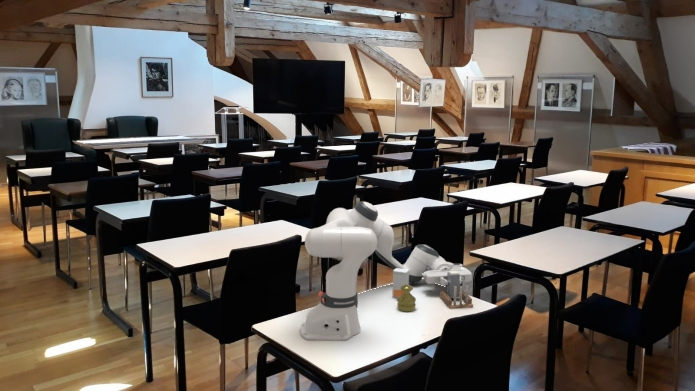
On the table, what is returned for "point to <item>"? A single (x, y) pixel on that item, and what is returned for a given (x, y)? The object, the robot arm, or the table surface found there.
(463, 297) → the cradle
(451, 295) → the plug
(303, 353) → the table surface
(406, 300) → the brass weight
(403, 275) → the skincare box
